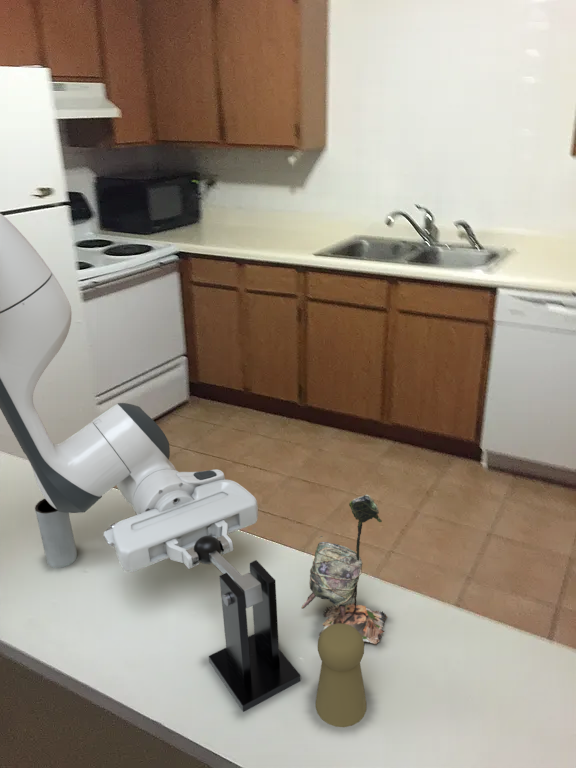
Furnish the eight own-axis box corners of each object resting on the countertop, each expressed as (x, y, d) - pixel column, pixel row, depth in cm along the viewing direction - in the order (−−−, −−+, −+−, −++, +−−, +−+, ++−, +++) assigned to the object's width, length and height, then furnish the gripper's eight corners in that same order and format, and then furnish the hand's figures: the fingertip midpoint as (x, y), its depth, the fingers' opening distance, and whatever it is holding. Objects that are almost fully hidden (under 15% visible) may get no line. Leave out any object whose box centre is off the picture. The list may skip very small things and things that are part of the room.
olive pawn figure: (370, 690, 80) (372, 619, 75) (362, 733, 75) (363, 660, 70) (321, 680, 82) (320, 610, 77) (309, 722, 76) (307, 650, 72)
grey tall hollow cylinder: (83, 555, 105) (72, 500, 101) (61, 572, 102) (49, 516, 97) (63, 547, 107) (52, 492, 103) (40, 563, 104) (28, 507, 99)
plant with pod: (318, 594, 95) (316, 474, 87) (394, 618, 91) (399, 493, 82) (293, 632, 89) (288, 506, 81) (373, 661, 84) (376, 530, 76)
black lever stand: (209, 662, 85) (198, 569, 79) (263, 636, 88) (257, 545, 82) (243, 713, 78) (235, 615, 72) (300, 682, 81) (297, 586, 75)
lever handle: (191, 560, 88) (187, 536, 87) (215, 550, 90) (212, 527, 89) (241, 615, 76) (238, 588, 75) (269, 602, 78) (265, 576, 77)
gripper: (95, 511, 91) (131, 565, 80) (229, 465, 100) (276, 508, 90) (102, 549, 93) (137, 607, 82) (232, 500, 103) (279, 546, 92)
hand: (211, 555), depth 86 cm, fingers closed on lever handle, 3 cm apart
